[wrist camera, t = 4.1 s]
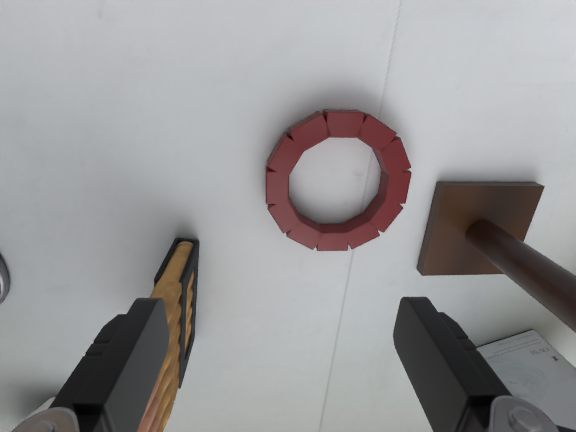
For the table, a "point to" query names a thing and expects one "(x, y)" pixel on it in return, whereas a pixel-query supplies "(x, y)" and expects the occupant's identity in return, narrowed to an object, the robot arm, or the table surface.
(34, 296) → the table surface
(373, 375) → the table surface
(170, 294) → the ammunition clip
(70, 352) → the table surface
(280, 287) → the table surface
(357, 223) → the ring
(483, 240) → the brown peg stand
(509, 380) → the cosmetics box
